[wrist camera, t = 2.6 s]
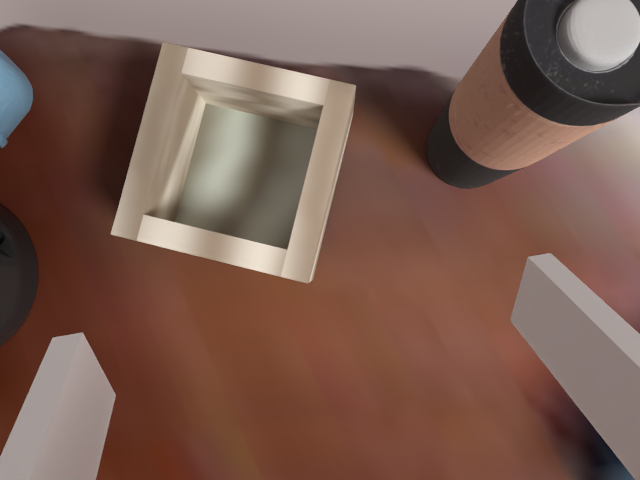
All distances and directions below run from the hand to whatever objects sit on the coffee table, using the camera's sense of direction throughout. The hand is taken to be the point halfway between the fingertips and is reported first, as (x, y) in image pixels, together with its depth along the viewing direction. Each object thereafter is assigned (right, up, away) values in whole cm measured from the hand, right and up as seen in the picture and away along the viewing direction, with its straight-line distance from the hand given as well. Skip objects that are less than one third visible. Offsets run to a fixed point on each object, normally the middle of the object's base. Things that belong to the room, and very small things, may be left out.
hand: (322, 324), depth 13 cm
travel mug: (+13, +11, +25) cm, 30 cm away
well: (-6, +8, +26) cm, 27 cm away
